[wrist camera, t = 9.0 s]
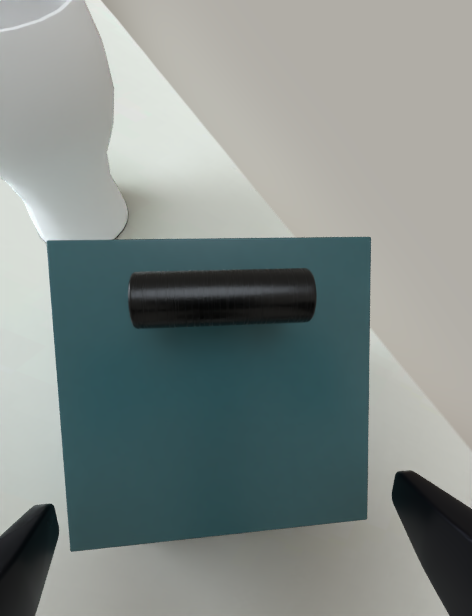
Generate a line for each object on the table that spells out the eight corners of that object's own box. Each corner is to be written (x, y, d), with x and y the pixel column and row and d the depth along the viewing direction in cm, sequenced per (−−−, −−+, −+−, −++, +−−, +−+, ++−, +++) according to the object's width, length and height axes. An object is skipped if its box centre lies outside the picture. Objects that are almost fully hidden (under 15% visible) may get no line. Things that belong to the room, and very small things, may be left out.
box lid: (56, 242, 11) (-22, 222, 7) (360, 239, 13) (434, 220, 9) (78, 535, 12) (20, 655, 8) (358, 506, 14) (422, 598, 10)
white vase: (168, 225, 28) (132, 7, 15) (55, 289, 24) (-126, 72, 11) (105, 161, 31) (29, -66, 18) (-3, 208, 28) (-199, -35, 14)
